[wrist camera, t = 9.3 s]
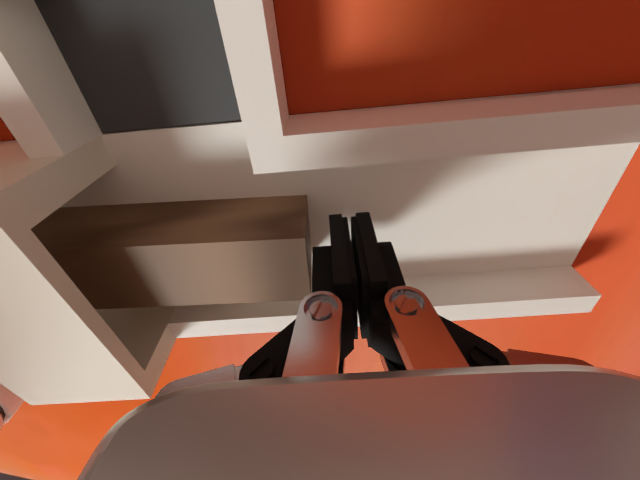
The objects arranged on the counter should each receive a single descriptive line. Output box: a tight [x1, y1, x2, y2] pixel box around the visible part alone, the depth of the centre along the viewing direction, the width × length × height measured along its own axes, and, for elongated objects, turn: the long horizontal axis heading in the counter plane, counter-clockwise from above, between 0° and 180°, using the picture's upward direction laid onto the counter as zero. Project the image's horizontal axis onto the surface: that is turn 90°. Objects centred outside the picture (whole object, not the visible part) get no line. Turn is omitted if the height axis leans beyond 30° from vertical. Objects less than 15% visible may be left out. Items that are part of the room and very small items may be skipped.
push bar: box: [31, 195, 312, 309], centre depth 13 cm, size 14×3×3 cm, turn 93°
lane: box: [0, 0, 640, 405], centre depth 11 cm, size 33×15×6 cm, turn 95°
